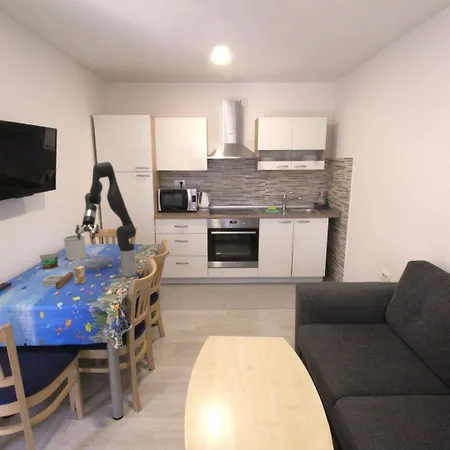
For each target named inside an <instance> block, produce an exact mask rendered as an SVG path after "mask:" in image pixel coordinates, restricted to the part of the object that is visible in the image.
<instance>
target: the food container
mask: <svg viewBox="0 0 450 450" xmlns="http://www.w3.org/2000/svg"><path fill="white" fill-rule="evenodd" d="M58 257H59V253H58V252H57V253H47V254H39V259H40V261H41V264H42V268H43V269H44V270H52V269H55V268H58V267H59V258H58Z"/></svg>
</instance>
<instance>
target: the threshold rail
mask: <svg viewBox="0 0 450 450" xmlns="http://www.w3.org/2000/svg"><path fill="white" fill-rule="evenodd" d="M73 278H74V271H69V272H68V273H66V274H65V275H62V278H61V279H59V280H58V281H57V282H56V286H55V288H56V289H57V290H59V289H61V288H62V287H64V286H65V285H66V284H68V283H69V282H70V281H71V280H72V279H73Z"/></svg>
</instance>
